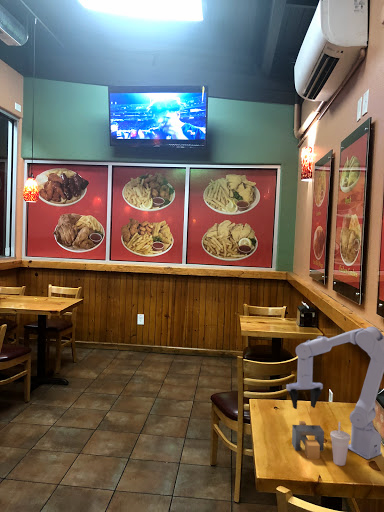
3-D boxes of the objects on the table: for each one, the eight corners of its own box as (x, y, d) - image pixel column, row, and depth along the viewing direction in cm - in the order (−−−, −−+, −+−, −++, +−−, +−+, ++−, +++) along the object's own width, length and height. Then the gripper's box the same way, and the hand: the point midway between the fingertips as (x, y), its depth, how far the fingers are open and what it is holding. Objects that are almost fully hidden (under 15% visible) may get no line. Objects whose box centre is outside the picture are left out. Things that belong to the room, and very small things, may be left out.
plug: (319, 458, 140) (320, 441, 139) (307, 458, 140) (308, 441, 139) (306, 436, 155) (307, 421, 155) (296, 436, 155) (296, 421, 155)
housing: (323, 451, 145) (324, 431, 144) (295, 450, 145) (295, 431, 144) (319, 444, 150) (319, 425, 149) (291, 443, 150) (292, 424, 149)
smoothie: (325, 459, 139) (326, 419, 138) (339, 456, 142) (341, 416, 141) (338, 469, 133) (340, 427, 133) (353, 465, 136) (355, 424, 135)
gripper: (317, 369, 165) (315, 402, 166) (283, 370, 162) (282, 404, 163) (325, 375, 158) (324, 409, 159) (290, 376, 156) (289, 411, 156)
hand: (303, 407), depth 160 cm, fingers open, 7 cm apart
